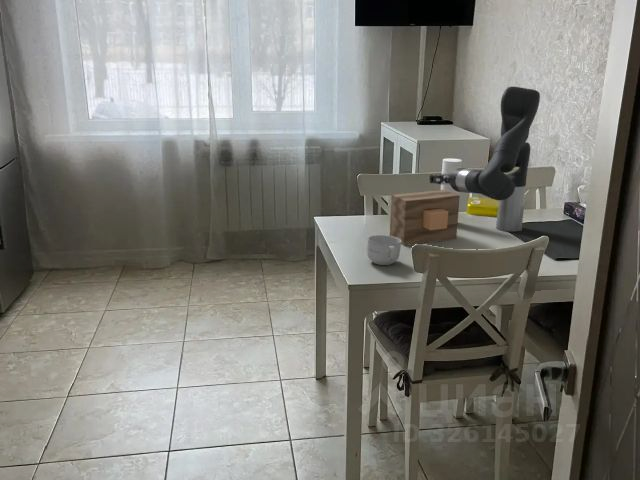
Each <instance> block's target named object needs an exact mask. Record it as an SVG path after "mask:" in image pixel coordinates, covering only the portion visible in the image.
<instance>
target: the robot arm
mask: <svg viewBox="0 0 640 480" xmlns="http://www.w3.org/2000/svg"><path fill="white" fill-rule="evenodd" d="M540 101H541V94H540V92H539V91H538V90H536V89H532V88H525V87H519V86H509V87H506V88H505V90H504V91H503V93H502V96H501V99H500V115H501V126H500V137H499V139H498V140H497V142H496V144H495V146H494V149H493V153H492V156H491V158H490V160H489V161H488V163H487V165H486V166H485V167H484V168H483V169H482V170H481V169H475V168H468V167H467V168H464V167H461V168H458V169H456V170H454V171H453V172H452V173H449V174H442V173H441V174H439V175H438V174H435V175H434V174H430V175H429V183H430V184H437V185H440V186H441V185H449V186H451V187H452V188H453V189H454V190H455V191H457V192H459V193H466V194H479V195H483V196H485V197H486V198H489V199H494V200H499V202H498V212H497V217H496V222H495V223H496V225H495V227H496V229H498V230H500V231H505V232H522V230H523V221H524V220H523V219H524V211H525V205H524V204H525V195H526V194H525V193H526V188H527V176H528V168H529V163H530V158H531V144H530V143H529V142H527V140H528V138H529V136H530V128H531V126H532V124H533V122H534V120H535V118H536V116H537V112H538V109H539V105H540ZM515 168H518V169H517V170H514V169H515ZM513 170H514V172H512V171H513ZM444 176H445V177H444ZM444 182H445V183H444Z"/></svg>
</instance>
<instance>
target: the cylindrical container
mask: <svg viewBox="0 0 640 480" xmlns="http://www.w3.org/2000/svg"><path fill="white" fill-rule="evenodd" d="M462 163H463V161H462V159H460V158H451V157H450V158H448V157H447V158H443V159H442V165H441V166H442V167H441V174H449V173H452V172H453V171H454V170H456V169H458V168H462V165H463V164H462ZM444 177H445V176H444ZM444 183H445V182H444ZM440 190H446V191H448V192H451V193H454V194H456V195H459V196H460V192H457V191H455V190H454V189H453V188H452V187H451V186H449V185H441V184H440Z"/></svg>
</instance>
